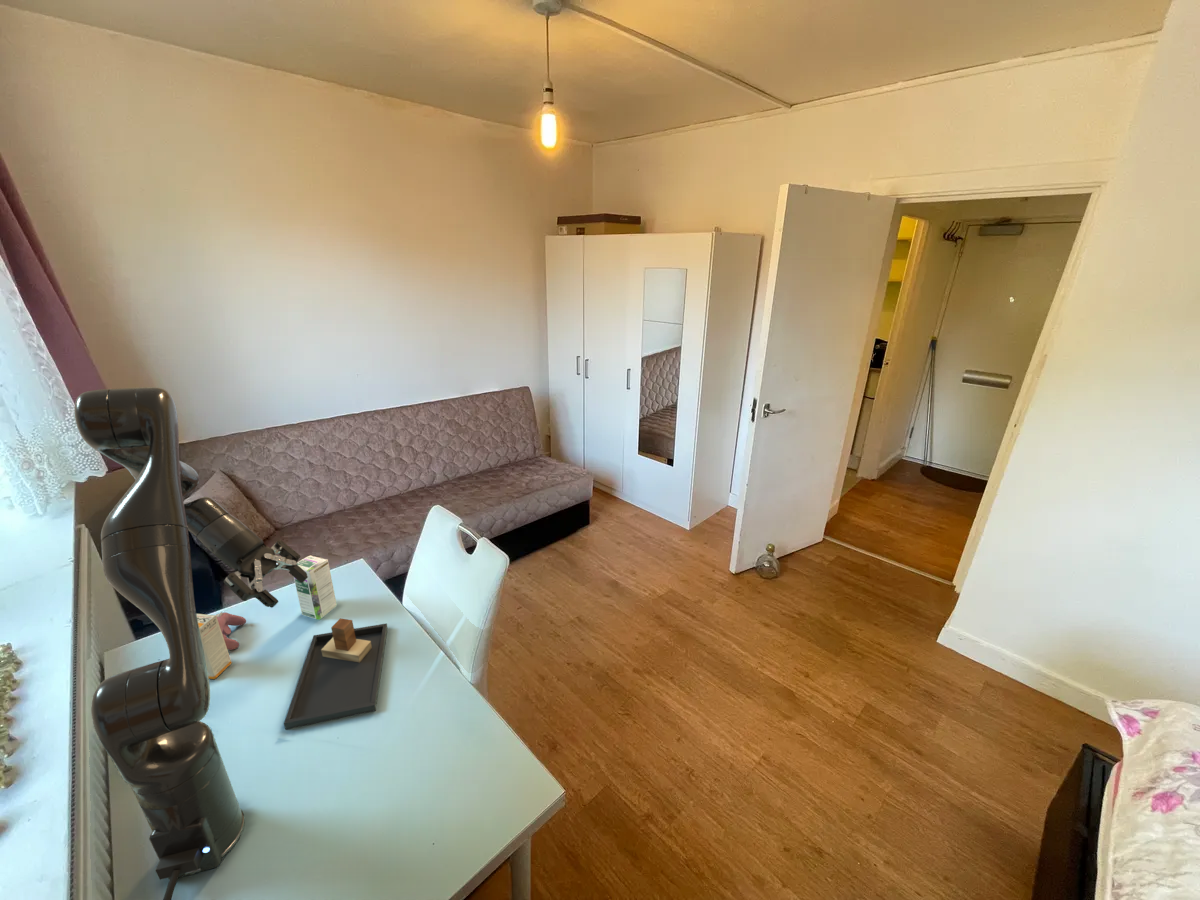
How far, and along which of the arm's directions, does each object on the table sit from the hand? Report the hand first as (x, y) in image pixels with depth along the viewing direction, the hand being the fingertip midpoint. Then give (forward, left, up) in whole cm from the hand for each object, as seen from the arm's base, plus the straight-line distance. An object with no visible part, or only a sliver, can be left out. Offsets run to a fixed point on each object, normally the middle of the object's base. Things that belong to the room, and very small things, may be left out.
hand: (290, 591), depth 105 cm
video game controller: (+7, +17, -16) cm, 24 cm away
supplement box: (-2, +18, -16) cm, 24 cm away
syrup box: (+12, -1, -16) cm, 20 cm away
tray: (-11, -10, -15) cm, 21 cm away
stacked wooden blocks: (-5, -10, -15) cm, 18 cm away
